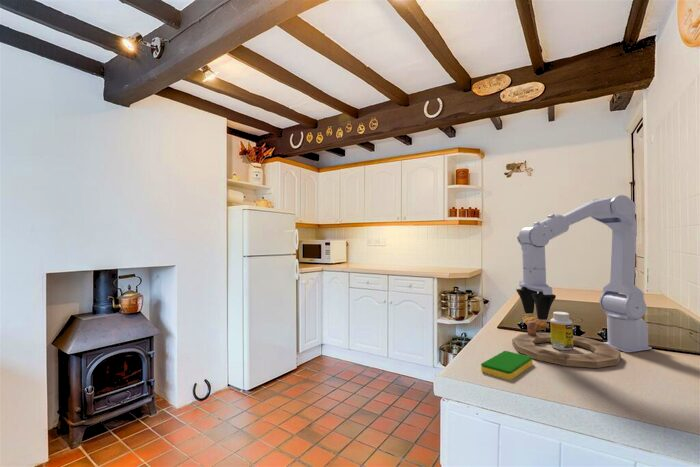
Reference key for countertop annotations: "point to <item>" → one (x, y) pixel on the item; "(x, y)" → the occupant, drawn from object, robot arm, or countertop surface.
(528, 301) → the robot arm
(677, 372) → the countertop surface
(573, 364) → the faceted tan ring
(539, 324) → the pastry
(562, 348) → the supplement bottle
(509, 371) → the dish sponge
